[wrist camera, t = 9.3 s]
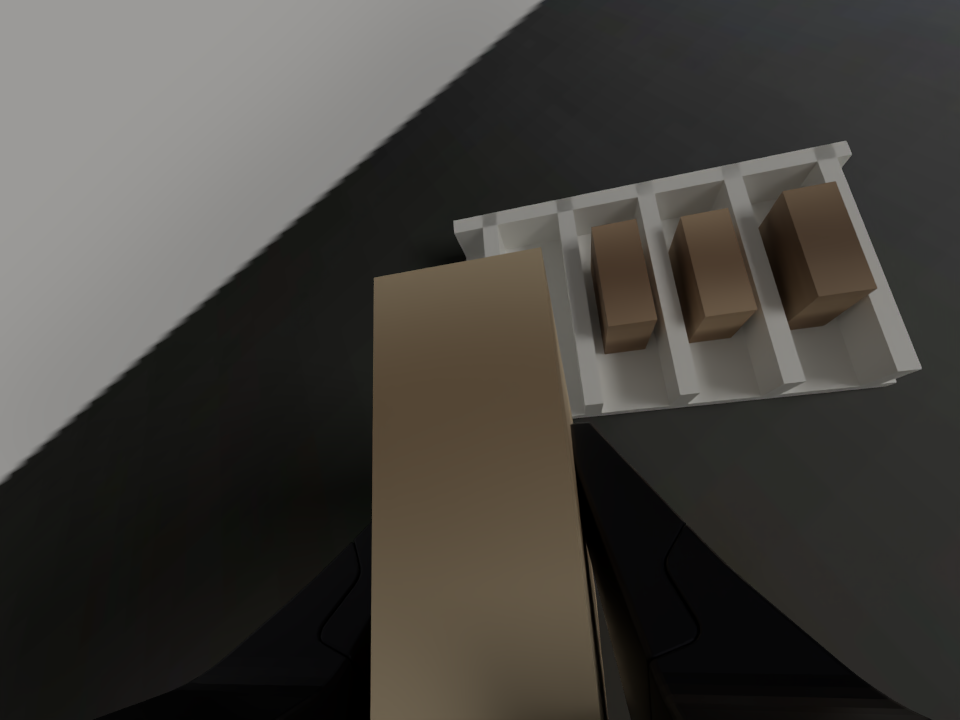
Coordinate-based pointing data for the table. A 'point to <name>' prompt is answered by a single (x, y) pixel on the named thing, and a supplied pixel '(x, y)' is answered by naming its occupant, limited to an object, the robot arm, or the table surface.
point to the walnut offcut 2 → (710, 276)
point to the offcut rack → (668, 355)
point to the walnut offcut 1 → (621, 287)
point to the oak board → (477, 503)
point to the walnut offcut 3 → (815, 255)
